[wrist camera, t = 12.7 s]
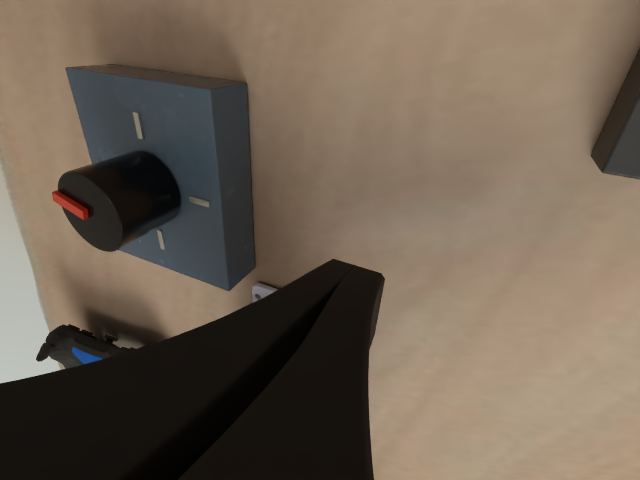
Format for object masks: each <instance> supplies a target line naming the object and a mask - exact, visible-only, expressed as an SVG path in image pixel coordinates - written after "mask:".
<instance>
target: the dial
mask: <svg viewBox="0 0 640 480" xmlns="http://www.w3.org/2000/svg"><path fill="white" fill-rule="evenodd" d="M52 195H53V201H54V202H56V203H58V204H59V205H61V206H62V208H63V210H64V213H65V214H66V216H67V218H68V220H69V221H70V223H71V224H72V226H73V227H74V228H75V230H76V231H77V232H78V233H79V234H80V235H81V236H82V237H83V238H84V239H85V240H86V241H87V242H88V243H90V244H91V245H92V246H94V247H96V248H98V249H100V250H103V251H107V252H112V251H116V250H118V249H120V248H121V247H123V246H125V245H127V244H129V243H131V242H132V241H134V240H136V239H138V238H140V237H142V236H143V235H145V234H147V233H149V232H151V231H153V230H154V229H156V228H158V227H160V226H162V225H164V224H165V223H167V222H169V221H171V220H173V219H174V218H175V217H176V216H177V214H178V212H179V209H180V193H179V189H178V186H177V184H176V181H175V179H174V177H173V176H172V174H171V172H170V171H169V170H168V168H167V167H166V166H165V165H164V164H163V163H162V162H161V161H160V160H159V159H158V158H156V157H155V156H153V155H152V154H150V153H147V152H144V151H133V152H130V153H127V154H123V155H120V156H117V157H114V158H110V159H107V160H104V161H101V162H97V163H94V164H91V165H88V166H84V167H81V168H78V169H75V170H71V171H68V172H66V173H64V174H63V175H62V176H61V178H60V179H59V182H58V190H57V191H54V192H52Z"/></svg>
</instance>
